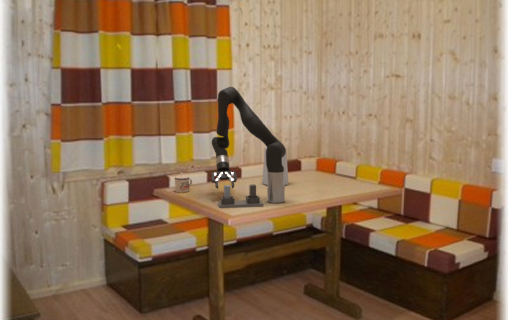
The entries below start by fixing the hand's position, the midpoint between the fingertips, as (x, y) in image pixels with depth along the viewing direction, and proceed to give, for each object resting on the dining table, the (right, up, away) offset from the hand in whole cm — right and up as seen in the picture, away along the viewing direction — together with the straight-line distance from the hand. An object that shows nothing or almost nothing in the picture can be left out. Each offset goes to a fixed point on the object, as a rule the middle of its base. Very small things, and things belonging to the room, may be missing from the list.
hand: (225, 187), depth 305 cm
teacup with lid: (-27, -4, +29) cm, 40 cm away
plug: (+2, -8, -11) cm, 13 cm away
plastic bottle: (+30, -1, +50) cm, 59 cm away
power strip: (+9, -9, -9) cm, 16 cm away
